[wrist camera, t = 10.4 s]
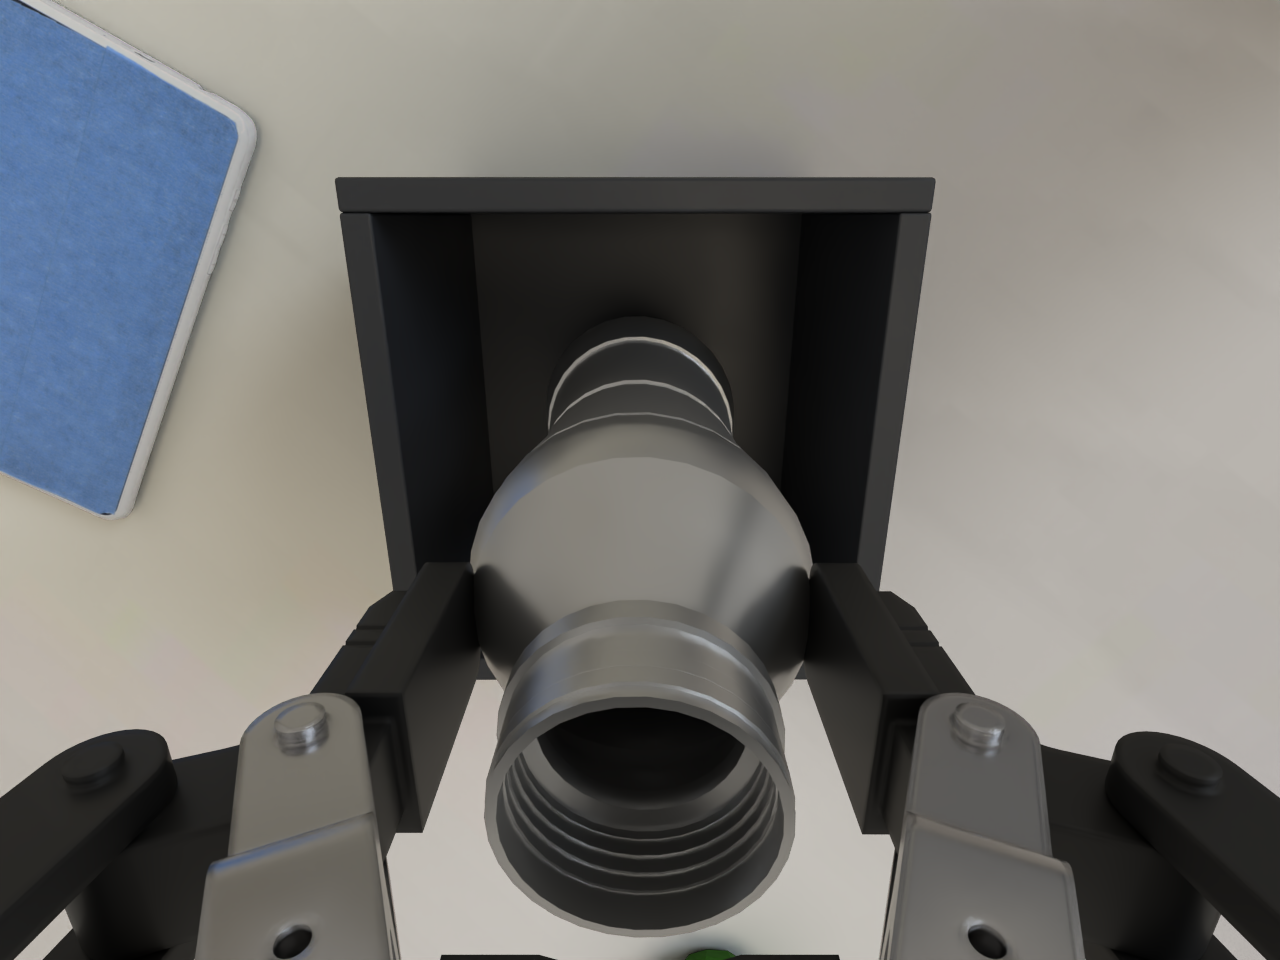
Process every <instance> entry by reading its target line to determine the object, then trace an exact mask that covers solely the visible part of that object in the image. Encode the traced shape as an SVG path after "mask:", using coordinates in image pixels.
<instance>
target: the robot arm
mask: <svg viewBox="0 0 1280 960" xmlns="http://www.w3.org/2000/svg"><path fill="white" fill-rule="evenodd" d="M473 584H474V572H473V568H472V565H471V563H469V562H426V563H425V564H424V565H423V566H422V568H421V570H420V571H419V573H418V575H417V576H416V578H415V579H414V581H413V583H412V584H411V586H410V588H409V589H408V591H392V592H390V593H389V594H387V595H386V596H385V597H383V598H382V599H380V600H379V601H377V602H376V603H374V604H373V605H372V606H370V607H369V608H368V610H367V611H366V613H365V614H364V616H363V617H362V619H361V620H360V621H359V623H358V624H357V628H356V630H353V632H352V633H351V635H350V636H349V637H348V639H347V640H346V645H343V646H342V648H341V649H340V651H339V652H338V653H337V655H336V656H335V658H334V659H333V661H332V662H331V664H330V665H329V667H328V668H327V669H326V671H325V672H324V674H323V675H322V677H321V678H320V680H319V681H318V683H317V684H316V685H315V687H314V688H313V690H312V691H311V693H310V694H308V695H303V696H299V697H296V698H293V699H290V700H287V701H285V702H282V703H280V704H278V705H276V706H274V707H272V708H271V709H269V710H267V711H266V712H264V713H263V714H262V715H260V716H259V717H258V718H256V719H255V720H254V721H253V722H252V723H251V724H250V725H249V727H248V728H247V729H246V730H245V732H244V734H243V736H242V738H241V741H240V745H237V746H233V747H229V748H225V749H221V750H216V751H212V752H207V753H202V754H198V755H193V756H189V757H184V758H179V759H175V760H172V759H171V755H170V752H169V749H168V746H167V743H166V741H165V739H164V738H163V737H162V736H161V735H160V734H158V733H156V732H153V731H149V730H140V729H133V730H123V731H117V732H112V733H108V734H104V735H101V736H98V737H95V738H92V739H89V740H87V741H84V742H82V743H79V744H77V745H75V746H73V747H71V748H69V749H67V750H65V751H64V752H62V753H60V754H59V755H57V756H55V757H54V758H52V759H51V760H49V761H48V762H47V763H45V764H44V765H43V766H41V767H40V768H39V769H37V770H36V771H35V772H33V773H32V774H31V775H30V776H28V777H27V778H26V779H24V780H23V781H22V782H20V783H19V784H18V785H17V786H15V787H14V788H13V789H11V790H10V791H9V792H7V793H6V794H5V795H4V796H2V797H1V798H0V960H14V959H15V958H16V957H17V956H18V955H19V954H20V953H21V952H22V951H23V950H24V949H25V948H26V947H27V946H28V945H29V944H30V943H31V942H32V941H33V940H34V939H35V938H36V937H37V936H38V935H39V934H40V933H41V932H42V931H43V930H44V929H45V928H46V927H47V926H48V925H49V924H50V923H51V922H52V921H53V920H54V919H55V918H56V917H57V916H58V915H59V914H60V913H61V912H62V911H63V910H64V909H65V910H66V912H67V915H68V917H69V920H70V922H71V925H72V927H73V929H72V930H71V931H70V932H69V933H68V934H67V935H66V936H65V937H64V938H63V939H62V940H61V941H60V942H59V943H58V944H57V945H56V946H55V947H54V948H53V949H52V950H51V952H50V953H49V954H48V955H47V956H46V957H45V958H44V959H43V960H194V959H195V960H401V953H400V946H399V939H398V932H397V925H396V918H395V911H394V903H393V896H392V889H391V882H390V875H389V868H388V863H387V857H386V856H387V853H388V851H389V848H390V846H391V843H392V841H393V838H394V835H395V833H423V830H424V827H425V824H426V821H427V818H428V816H429V813H430V810H431V807H432V804H433V801H434V798H435V796H436V793H437V790H438V787H439V784H440V781H441V778H442V776H443V773H444V770H445V767H446V764H447V761H448V759H449V756H450V753H451V750H452V747H453V744H454V741H455V739H456V736H457V733H458V730H459V727H460V724H461V721H462V719H463V716H464V713H465V710H466V707H467V704H468V702H469V699H470V696H471V693H472V690H473V687H474V684H475V682H476V679H477V675H478V671H479V664H480V653H481V647H480V645H479V642H478V637H477V629H476V621H475V614H474V587H473ZM809 585H810V613H809V627H808V639H807V644H806V649H805V655H804V660H803V662H804V669H805V674H806V678H807V681H808V684H809V687H810V689H811V692H812V695H813V698H814V701H815V703H816V706H817V709H818V712H819V715H820V717H821V720H822V723H823V726H824V729H825V731H826V734H827V737H828V740H829V743H830V745H831V748H832V751H833V754H834V757H835V759H836V762H837V765H838V768H839V771H840V773H841V776H842V779H843V782H844V785H845V787H846V790H847V793H848V796H849V798H850V801H851V804H852V807H853V810H854V812H855V815H856V818H857V821H858V824H859V826H860V829H861V832H862V834H890V837H891V839H892V842H893V844H894V847H895V851H894V857H893V863H892V868H891V875H890V882H889V889H888V896H887V903H886V911H885V918H884V925H883V932H882V939H881V946H880V953H879V960H1085V959H1086V960H1237V959H1236V958H1235V957H1234V956H1233V955H1232V954H1231V953H1230V952H1229V950H1228V949H1227V948H1226V947H1225V946H1224V945H1223V944H1222V943H1221V942H1220V941H1219V940H1218V939H1217V938H1216V937H1215V936H1214V935H1213V932H1214V930H1215V927H1216V925H1217V923H1218V920H1219V918H1220V915H1222V916H1223V917H1224V918H1225V919H1226V920H1227V921H1228V922H1229V923H1230V924H1231V925H1232V926H1233V927H1234V928H1235V929H1236V930H1237V931H1238V932H1239V933H1240V934H1241V935H1242V936H1243V937H1244V938H1245V939H1246V940H1247V941H1248V942H1249V943H1250V944H1251V945H1252V946H1253V947H1254V948H1255V949H1256V950H1257V951H1258V952H1259V953H1260V954H1261V955H1262V956H1263V957H1264V958H1265V959H1266V960H1280V798H1279V797H1278V796H1276V795H1275V794H1274V793H1273V792H1271V791H1270V790H1269V789H1267V788H1266V787H1265V786H1263V785H1262V784H1261V783H1260V782H1258V781H1257V780H1256V779H1254V778H1253V777H1252V776H1250V775H1249V774H1248V773H1247V772H1245V771H1244V770H1243V769H1241V768H1240V767H1239V766H1237V765H1236V764H1235V763H1233V762H1232V761H1230V760H1229V759H1227V758H1226V757H1224V756H1222V755H1221V754H1219V753H1217V752H1215V751H1213V750H1211V749H1209V748H1207V747H1205V746H1203V745H1201V744H1198V743H1196V742H1193V741H1191V740H1188V739H1185V738H1182V737H1178V736H1174V735H1170V734H1165V733H1159V732H1148V731H1145V732H1134V733H1130V734H1127V735H1125V736H1123V737H1122V738H1121V739H1119V740H1118V742H1117V744H1116V746H1115V749H1114V753H1113V756H1112V759H1111V761H1109V760H1104V759H1099V758H1095V757H1090V756H1086V755H1081V754H1076V753H1072V752H1067V751H1063V750H1058V749H1055V748H1051V747H1047V746H1044V745H1041V744H1040V741H1039V738H1038V736H1037V734H1036V732H1035V730H1034V729H1033V728H1032V727H1031V725H1030V724H1029V723H1028V722H1027V721H1026V720H1025V719H1024V718H1022V717H1021V716H1020V715H1018V714H1017V713H1016V712H1014V711H1013V710H1011V709H1009V708H1008V707H1006V706H1004V705H1002V704H1000V703H998V702H995V701H993V700H990V699H987V698H984V697H981V696H977V695H975V694H974V692H973V691H972V689H971V688H970V687H969V685H968V684H967V682H966V681H965V679H964V678H963V676H962V675H961V674H960V672H959V671H958V669H957V668H956V666H955V665H954V664H953V662H952V661H951V659H950V658H949V656H948V655H947V654H946V652H945V651H944V649H943V648H942V647H939V642H938V641H937V639H936V638H935V636H934V635H933V633H932V632H931V631H930V630H928V626H927V625H926V623H925V622H924V621H923V619H922V618H921V616H920V615H919V613H918V612H917V610H916V609H915V608H914V607H913V606H911V605H910V604H908V603H907V602H905V601H904V600H903V599H901V598H900V597H898V596H897V595H895V594H894V593H892V592H891V591H876V590H875V588H874V587H873V585H872V583H871V582H870V580H869V579H868V577H867V575H866V574H865V572H864V571H863V569H862V567H861V566H860V565H859V564H858V563H814V564H813V565H812V567H811V570H810V576H809ZM440 960H556V959H552V958H549V957H545V956H541V955H441V959H440ZM724 960H840V959H839V955H739V956H735V957H731V958H728V959H724Z"/></svg>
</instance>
